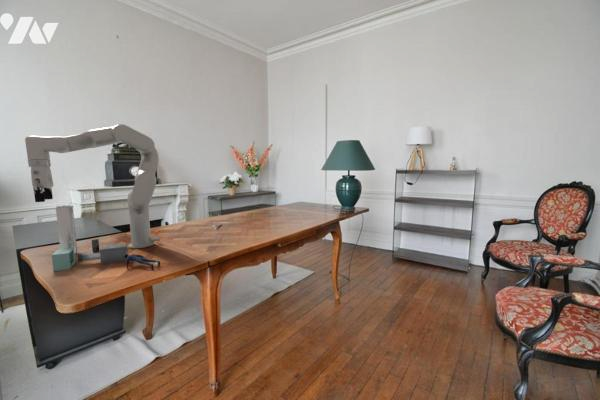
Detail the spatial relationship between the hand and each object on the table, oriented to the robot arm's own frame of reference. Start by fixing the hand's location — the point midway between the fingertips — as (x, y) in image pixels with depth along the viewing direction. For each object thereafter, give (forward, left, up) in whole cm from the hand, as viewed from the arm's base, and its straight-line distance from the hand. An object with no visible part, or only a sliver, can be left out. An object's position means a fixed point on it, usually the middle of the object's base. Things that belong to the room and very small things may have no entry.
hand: (44, 200), depth 130 cm
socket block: (-9, +16, -28) cm, 34 cm away
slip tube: (-23, +16, -27) cm, 39 cm away
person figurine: (-39, +30, -29) cm, 57 cm away
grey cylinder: (-6, -6, -29) cm, 30 cm away
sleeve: (-28, +16, -28) cm, 43 cm away
